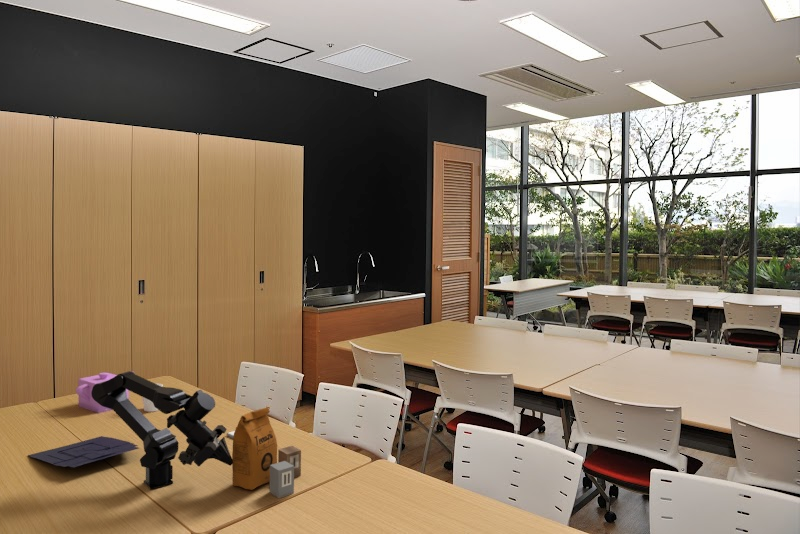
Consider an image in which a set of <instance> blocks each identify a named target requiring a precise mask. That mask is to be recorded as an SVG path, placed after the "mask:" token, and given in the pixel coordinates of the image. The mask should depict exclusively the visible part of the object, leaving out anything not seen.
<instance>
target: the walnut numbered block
mask: <svg viewBox="0 0 800 534" xmlns="http://www.w3.org/2000/svg"><path fill="white" fill-rule="evenodd" d="M282 461H286V462H288V463H290V464H291V465H293V466H294V479H295V478H297V477H301V475H302V472H301V471H302V470H301V469H302V449H299V448H298V447H296V446H294V445H290V446H287V447H286V446H285V447H283V448H279V449H278V448H277V463H279V462H282Z"/></svg>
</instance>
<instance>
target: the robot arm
mask: <svg viewBox="0 0 800 534" xmlns="http://www.w3.org/2000/svg"><path fill="white" fill-rule="evenodd" d="M116 375H117V376H115V377H114V378H112V379H110V380H108V381H105V382H101V383H97V384H95V385H94V386H93V389H92V392H91V394H92V398H93V399H94V400H95V401H96V402H97V403H99V404H100V405H101V406H103V407H106V408H110V409H112V410H111V411H114V412H115V414H117V416H118V417H119V418H121V420H122V421H123V422H124V423H125V424H126V426H128V427H129V429H131V430H132V432H133V433H135V435H136V436H137V437H139V439H140V440H141V441H142V444H143V450H144V453H145V454H143V456H141V458H140V459H139V463H140V465H141V467H143V468H145V479H144V480H143V483H144V484H145V485H146V486H147V487H148V489H150V490H154V489H157V488H161V487H165V486H168V485H169V486H170V485H172V484H173V483H174V481H173V475H174V474H173V473H174V472H173V469H174V468H173V465H172V460H175V458H176V455H177V453H178V451H179V441H178V439H177V435H175V434H173V433H172V432H171V431H170V428H171V427H172V426H174V427H176V429H177V430H179V432H180V433H182V435H184V436H185V437H186V438H185V441H186V443H187V444H188V446H187V447H186V449H185V450H182V451H180V452H179V455H178V456H177V459H178V460H179V461H180V463H181V464H182V465H183V466H185V465H189V466H192V465H193V463H194V464H195V465H196V466H197V467H201V465H203V464H204V463H205V462H206V461H207V460H210V459H211V460H212V459H214V460H217V461H219V462H221V463H223V464H226V465H228V466H232V464H233V460H232V454H231V452H230V450H229V447H228V445H227V442H226V437H225V436H223V437H222V438H221V439H220V438H219V437H220V436H221V435H223V434H225V433H227V430H228V429H227V427H225V426H224V425H223V424H219V425H217V426H215V428H214V429H210V428H209V426H207V421H206V420H203V421H202V419H204V417H206V416H207V415H208V414H209V413H210V412H211V411H212V410H213V409H215V408H216V401H215V399H214V397H213V396H211V395H210V394H209V393H207V392H203V390H202V389H199V390H196V391H195V392H193V394H192V395H190V394H187V393H186V392H185V391H184V390H183V389H180V388H176V387H171V386H170V387H168V386H167V387H164V386H163V387H161V386H159V385H157V384H155V383H156V382H152V381H150V380H148V379H146V378H144V377H142V376H139V375H137V374H135V371H134V372H133V371H131V370H130V371H129V370H128V371H125V372H121V373H118V374H116ZM126 389H127V390H129V391H130V392H132V393H133V394H136V395H138V396H140V397H141V398H143V397H144V398H146V399H148V400H150V401H152V402H153V404H154V406H155V408H157V409H158V411H160V412H161V413H162V414H164V415H168V414H170V415H169V416H168V417H167V418H166V421H167V422H166V428H163V429H158V428H157V427H156V426H155V425H154V424H153V423H152V422H151V421H150V420H149V419H148V418H147V417H146V416H145V415H144V414H143V413H142V412H141V411H140V410H139V409H138V408H137V407H136V405H134V404H133V402H132V401H130V399H129V400H128V398H127V394H126ZM176 411H177V412H176ZM174 412H176V413H175V414H173V415H172V413H174Z"/></svg>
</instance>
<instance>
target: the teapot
mask: <svg viewBox="0 0 800 534" xmlns="http://www.w3.org/2000/svg"><path fill="white" fill-rule="evenodd" d="M132 372H134V373H135V371H132ZM117 375H118V374H114V373H110V372H100V373H98V374H95V375H92V376H85V377H81V378H78V380H77V383H78V384H77V385H78V387H76V389H75V393H76V395H78V407H80V408H83V409H86V410H89V411H91V412H95V413H97V414H102V413H106V412H108V411H109V412H110V411H113V410H112V409H110V408H106V407H103V406H101V405H100V404H99V403H97V402H96V401H95V400H94V399H93V398H92V394H91V392H92V389H93V386H94V385H95V384H97V383H101V382H105V381H108V380H110V379H112V378H114V377H115V376H117ZM126 394H127V398H128V400H129V401H130V398H129V397H130V392H129V390H127V389H126Z"/></svg>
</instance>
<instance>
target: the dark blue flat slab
mask: <svg viewBox="0 0 800 534" xmlns="http://www.w3.org/2000/svg"><path fill="white" fill-rule="evenodd" d="M138 446H139V444H138V445H137V444H135V443H133V442H130V441H127V440H123V439H118V438H116V437H115V438H114V437H111V436H110V437H108V436H104V435H103V436H102V435H101V436H97V437H94V438H90V439H85V440H82V441H78V442H75V443H71V444H68V445H64V446H59V447H55V448H51V449H47V450H44V451H40V452H36V453H30V454H28V455H27V456H28V457H31V458H34V459H38V460H40V461H43V462H46V463H50V464H51V465H53V466H56V467H58V466H60V467H63V468H65V467H70V468H77V467H80V466H83V465H87V464H90V463H93V462H96V461H100V460H104V459H107V458H110V457H114V456H118V455H121V454H124V453H128V452H131V451H134V450H139V449H140V447H138Z"/></svg>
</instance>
